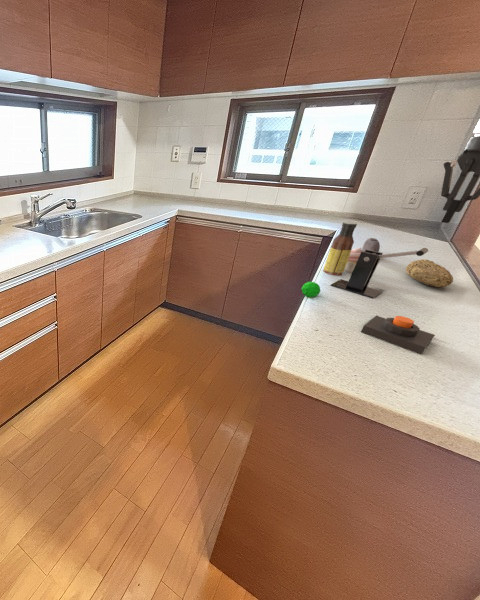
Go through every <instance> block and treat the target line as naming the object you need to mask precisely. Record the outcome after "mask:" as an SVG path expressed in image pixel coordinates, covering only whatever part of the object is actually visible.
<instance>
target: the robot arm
mask: <svg viewBox="0 0 480 600" xmlns="http://www.w3.org/2000/svg"><path fill="white" fill-rule="evenodd" d="M472 135H474V136H471V137H469V139H468V141H467V143H466V145H465V146H464V149H463V151H462V153H461V154H460V155H459V156H457V158H456V159H455V158H454V159H452V160H450V161H445V162H444V163H443V168H444V175H443V180H442V181H443V182H442V188H441V192H440V196H441V197H443V198H445V199H446V202H445V204H444V205H443V207H442V211H445V214H444V216H443V217H442V219H441V223H444V224H449V223H451V220H452V218H453V217H454V215H455V214H456V213H460V212H461V211H462V210H463V209H464V207H465V205H466V203H467V202H468V201H473V200H477V199H479V198H480V187H479V188H478V189H477V190H476V191H475V192H474V193H473V191H474V189H475V188H476V185H477V183H478V182H479V180H480V118H479V119H478V122H477V124H476V125H475V127H474V129H473V131H472ZM457 164H458V167H459V168H460V171H461V172H460V173H459V177H458V178H457V180H456V182H455V183H454V186H453V188H452V189H451V183H452V178H453V172H454V168H455V167H456V166H457ZM471 172H472V173H473V174H472V177H471V179H470V180H469V182H468V184H467V186H466V188H465V189H464V192H463V194H462V196H461V198H460V199H456V198H457V196H458V194H459V192H460V190H461V188H462V187H463V185H464V183H465V181H466V179H467V177H468V176H469V174H470V173H471ZM450 189H451V191H450ZM472 193H473V194H472ZM471 194H472V195H471Z"/></svg>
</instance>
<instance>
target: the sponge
mask: <svg viewBox="0 0 480 600" xmlns="http://www.w3.org/2000/svg"><path fill="white" fill-rule="evenodd" d="M405 272H406V275H408V276H409V277H410V278H412V279H414V280H416V281H417V282H419V283H422V284H424V285H427V286H431V287H436V288H446V287H448V286H450V285H451V284H453V282H454V281H453V280H454V277H453V275H452V274H451V272H450V271H449V270H448V269H446V268H445V267H444V266H442V265H440V264H438V263H435V262H434V261H433V260H430V259H425V258H422V259H421V258H420V259H417V260H413V261H412V262H410V263H408V264H407V265H406V267H405Z"/></svg>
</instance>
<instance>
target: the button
mask: <svg viewBox="0 0 480 600" xmlns="http://www.w3.org/2000/svg"><path fill="white" fill-rule="evenodd" d="M393 318H394V320H393V322H392V323H393V324H395V325H397V326H400V327H403V328H411V327H412V325H413V324H415V321H414V320H413V319H412V318H409V317H406V316H402V315H396V316H395V317H393Z"/></svg>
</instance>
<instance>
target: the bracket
mask: <svg viewBox="0 0 480 600" xmlns="http://www.w3.org/2000/svg"><path fill="white" fill-rule="evenodd" d="M372 253H376V254H372ZM382 254H384V252H381V251H379V252H376V251H372V250H367V249H366V250H365V252H363V250H362V252H361V254H360V256H359V258H358V261H357V263H356V265H355V267H354V270H353V272H352V273H350V277H349V279H348V280H345V279H338V280H337V281H335V282H333V283H331V284H330V287H332V288H336V289H340V290H342V291H345V292H349V293H352V294H356V295H360V296H363V297H365V298H369V299H375V298H376V297H377V296H378V295H380V294H382V292H383V290H380V289H377V288H373V287H369V284H370V282H371V280H372V277H373V276H374V273H375V271H376V269H377V267H378V264H380V263H379V262H380V260H381V258H378V256H379V255H382ZM377 258H378V259H377Z"/></svg>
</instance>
